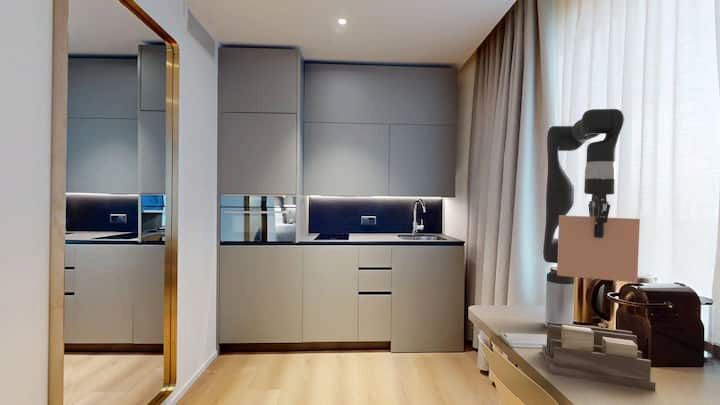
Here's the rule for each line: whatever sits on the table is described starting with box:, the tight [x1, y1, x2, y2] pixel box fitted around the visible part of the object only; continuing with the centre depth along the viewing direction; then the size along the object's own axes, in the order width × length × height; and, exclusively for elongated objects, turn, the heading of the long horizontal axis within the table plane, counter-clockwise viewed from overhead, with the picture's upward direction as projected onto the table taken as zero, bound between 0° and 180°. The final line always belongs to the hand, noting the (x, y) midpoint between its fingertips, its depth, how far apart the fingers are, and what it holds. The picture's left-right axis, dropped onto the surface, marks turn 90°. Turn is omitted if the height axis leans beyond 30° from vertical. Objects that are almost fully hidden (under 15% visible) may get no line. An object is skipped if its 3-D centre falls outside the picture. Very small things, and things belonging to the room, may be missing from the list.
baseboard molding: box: [498, 330, 547, 350], centre depth 125 cm, size 31×3×12 cm
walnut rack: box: [541, 321, 657, 391], centre depth 107 cm, size 16×24×10 cm, turn 71°
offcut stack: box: [561, 325, 638, 358], centre depth 103 cm, size 4×17×10 cm, turn 71°
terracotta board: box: [556, 215, 641, 283], centre depth 111 cm, size 2×20×18 cm, turn 71°
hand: (597, 237), depth 111 cm, fingers closed on terracotta board, 2 cm apart
